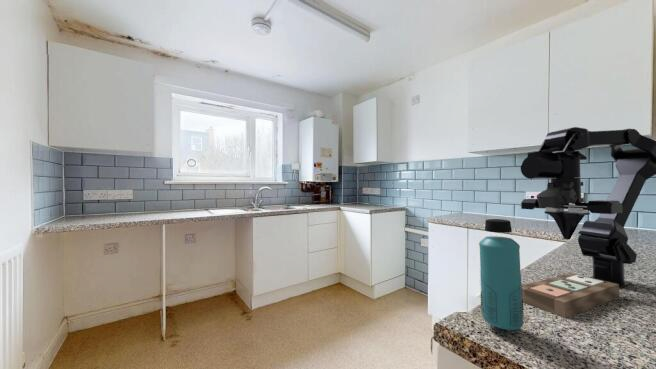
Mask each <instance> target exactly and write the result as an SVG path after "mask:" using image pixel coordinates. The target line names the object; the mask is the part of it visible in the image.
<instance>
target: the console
mask: <svg viewBox="0 0 656 369" xmlns="http://www.w3.org/2000/svg"><path fill="white" fill-rule="evenodd" d="M575 275H579V276H583V277H588V278H590V277H591V276H585V275H580V274H577V273H573V272H568V273H565V274H561V275H556V276H554V277H549V278H545V279H542V280H538V281H533V282H531V283H527V284H522V285H523V287H522V285H521V287H522V290H523V292H522V294H523V296H522V298H523V304H527V305H529V306H532V307H534V308H537V309H540V310H542V311H545V312H548V313H551V314H554V315H556V316H559V317H562V318H565V319H566V318H568V317H571V316H573V315H576V314H578V313H582V312H585V311H586V310H590V309H592V308H596V307H597V306H599V305H603V304H606V303H608V302H611V301H613V300H616V299H618V298H620V288H619V284H616V283H612V282H608V281H604V283H603V284H600V285H597V286H594V287H593V286H589V285H585V284H581V283H578V282H574V281H570V280H566V278H568V277H571V276H575ZM592 279H595V278H592ZM558 280H564V281H568V282H572V283H576V284H579V285H583V286H587V287H588V289H585V290H581V291H578V292H575V291H571V290H568V289H564V288H560V287H557V286H553V285H550V284H549V283H551V282H554V281H558ZM596 280H599V279H596ZM600 281H603V280H600ZM543 284H544V285H547V286H551V287H554V288H558V289H561V290H565V291H568V292H570V294H569V295H566V296H562V297H559V298H556V297H553V296H550V295H547V294H543V293H540V292H537V291H534V290H531V289H530V288H532V287H536V286H539V285H543Z"/></svg>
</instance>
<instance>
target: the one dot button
mask: <svg viewBox="0 0 656 369" xmlns="http://www.w3.org/2000/svg"><path fill="white" fill-rule="evenodd" d="M530 289H531V290H534V291H537V292H540V293H543V294H547V295H550V296H553V297H556V298H559V297H562V296H566V295H569V294H570V292H568V291H565V290H561V289H558V288H554V287H551V286H547V285H544V284H543V285H539V286H536V287H532V288H530Z"/></svg>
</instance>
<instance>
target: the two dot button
mask: <svg viewBox="0 0 656 369" xmlns="http://www.w3.org/2000/svg"><path fill="white" fill-rule="evenodd" d="M579 275H580V274H577V275H575V276H571V277H568V278H566V280H570V281H574V282H578V283H581V284H585V285H589V286H593V287H594V286H597V285H600V284H603V283H604V281H600V280H596V279H592V278H588V277H589V276H586V277H583V276H584V275H582V276H579Z"/></svg>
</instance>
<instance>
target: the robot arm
mask: <svg viewBox="0 0 656 369" xmlns="http://www.w3.org/2000/svg"><path fill="white" fill-rule="evenodd" d="M623 145H625V146H626V145H631V146H632V147H634V148H628V149H624V150H623V149H622V147H620V146H623ZM602 146H609V147H610V148H611V149H610V150H611V151H610V156H611V157H612V159H613V160H614V161H615V162H616V163H615V168H616V170H617V172H618V177H617V179H616V180H615V183H614V184H613V186H612V189H611V191H610V193H609V195H608V197H607V200H606V199H603V200H602V199H601V200H599V199H595V200H589V201H587V202H585V198H584V197H582V186H583V187H584V181H581V161H585V160H587V159H588V157H587V156H586V155H584V154H582V153H581V151H580V150H583V149H586V148H589V147H602ZM520 172H521V174H522V175H523V177H525V178H526V179H528V180H529V179H530V180H533V179H538V180H539V179H542V180H543V179H550V182H547V184H546V185H547V187H546V189H545V190H542V191H541V192H540V193H538V194H536V198H524V199H522V200H521V202H520V209H521V210H534V209H545V211H544V214H546V215H547V214H548V215H549V216H550V217H551V218H553V220H554V221H555V223H556V226H557V227H558V229H559V231H560V234H561V235H562V237H563V240H566V241H567V240H571V238H572V237H573V234H574V233H575V231H576V229H577V227H578V225H579V224H580V223H581V221H582V220H583V219H584V217H585V216H588V215H590V214H599V216H598V218H597V219H595V220H593V221H592V220H585V221H584V222H583V224H582V226H581V229H580V230H579V231H578V234H579V235H578V238H577V241H578V242H577V243H578V246H579V249H580V252H581V253H582V256H583V257H584V256H585V257H589V258H591V260H592V262H591V263H592V276H589V277H590V278H595V279H599V280H603V281H608V282H612V283H616V284H619V289H621V288H625V287H628V286H630V285H632V282H631V281H627V280H625V264H626V265H633V264H635V263H636V261H637V256H638V254H637V253H636V251H634V249H632V247H631V246H630V245H629V244H628V241H629V236H628V234H627V232H626V229H625V225H626V223H627V221H628V219H629V216H630V214H631V212H632V210H633V208H634V206H635V204H636V202H637V199H638V197H639V196H640V193H641V191H642V189H643V187H644V185H645V183H646V181H647V180H648V179H651V178H652V177H654V176H655V175H656V140H654V139H652V138H649V137H647V136H644V135H643V134H641V133H640V132H639V131H638V130H637V129H635V128H625V129H615V130H614V129H613V130H595V131H594V130H593V131H591V130H588V129H587V128H584V127H579V126H577V127H575V126H574V127H573V126H572V127H569V128H564V129H561V130H560V129H559V130H556V131H551V132H548V133H547V134H546V136H545V139H544V140H543V141H542V143H541V144H540V146H539V148H538V149H537V151H529V152H527V157H525V158H524V159H523V161H522V163H521V165H520ZM590 216H591V215H590Z"/></svg>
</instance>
